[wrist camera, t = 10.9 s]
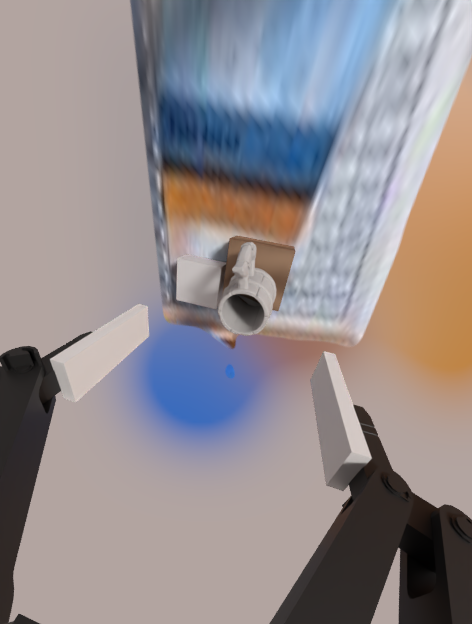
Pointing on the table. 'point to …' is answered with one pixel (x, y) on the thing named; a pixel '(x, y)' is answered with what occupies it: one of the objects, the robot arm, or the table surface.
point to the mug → (251, 283)
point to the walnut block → (263, 263)
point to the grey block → (200, 280)
